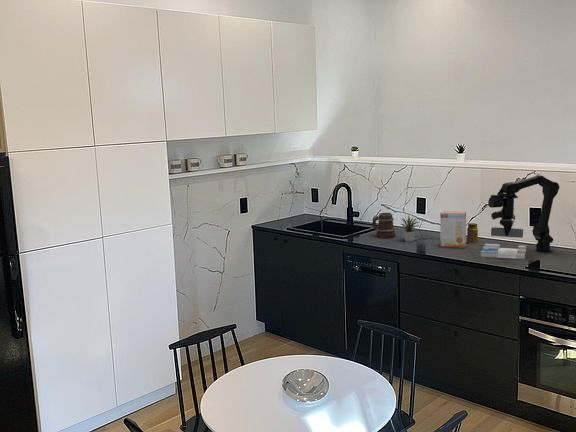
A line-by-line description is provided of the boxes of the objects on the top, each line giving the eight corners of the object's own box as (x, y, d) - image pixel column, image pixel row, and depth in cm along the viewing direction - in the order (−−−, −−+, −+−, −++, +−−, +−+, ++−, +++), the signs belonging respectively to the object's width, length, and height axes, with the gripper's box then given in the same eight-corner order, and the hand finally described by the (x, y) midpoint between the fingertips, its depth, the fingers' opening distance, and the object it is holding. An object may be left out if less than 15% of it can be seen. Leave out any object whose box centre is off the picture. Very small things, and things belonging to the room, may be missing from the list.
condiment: (480, 243, 355) (481, 223, 353) (471, 245, 351) (471, 226, 349) (470, 241, 361) (471, 222, 359) (461, 243, 357) (461, 224, 355)
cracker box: (466, 246, 351) (466, 211, 347) (464, 248, 345) (465, 213, 341) (442, 244, 356) (442, 210, 353) (440, 247, 351) (440, 212, 347)
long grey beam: (523, 236, 321) (523, 228, 321) (522, 237, 318) (522, 230, 317) (491, 234, 328) (492, 227, 328) (491, 235, 325) (491, 228, 324)
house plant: (410, 244, 360) (410, 218, 357) (392, 241, 370) (392, 215, 367) (424, 240, 369) (424, 214, 366) (406, 237, 379) (406, 212, 376)
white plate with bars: (526, 251, 334) (526, 243, 333) (524, 260, 314) (524, 252, 313) (484, 248, 343) (485, 241, 342) (480, 258, 323) (480, 250, 322)
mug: (398, 235, 386) (398, 212, 383) (389, 239, 376) (389, 216, 374) (376, 233, 395) (376, 211, 393) (367, 236, 386) (367, 214, 383)
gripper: (494, 203, 332) (493, 230, 335) (490, 208, 315) (489, 237, 318) (515, 204, 327) (514, 231, 330) (512, 209, 311) (511, 238, 313)
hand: (507, 234), depth 323 cm, fingers closed on long grey beam, 4 cm apart
